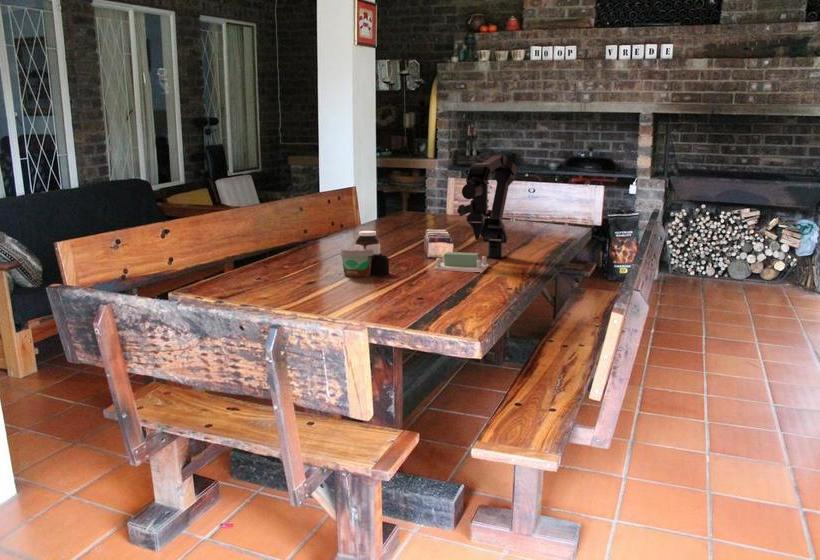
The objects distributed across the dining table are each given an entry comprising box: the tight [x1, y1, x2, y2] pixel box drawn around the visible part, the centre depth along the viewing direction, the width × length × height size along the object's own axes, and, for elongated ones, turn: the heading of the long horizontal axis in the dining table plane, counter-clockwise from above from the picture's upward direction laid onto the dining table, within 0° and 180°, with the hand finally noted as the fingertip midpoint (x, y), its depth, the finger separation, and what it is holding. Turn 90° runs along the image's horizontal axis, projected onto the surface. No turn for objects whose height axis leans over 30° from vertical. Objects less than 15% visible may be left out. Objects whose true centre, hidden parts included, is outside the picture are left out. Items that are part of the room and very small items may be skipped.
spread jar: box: [349, 230, 381, 254], centre depth 296 cm, size 12×11×12 cm
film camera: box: [370, 252, 390, 276], centre depth 267 cm, size 15×10×9 cm, turn 83°
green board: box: [443, 251, 480, 267], centre depth 275 cm, size 5×12×4 cm, turn 73°
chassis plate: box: [433, 254, 489, 274], centre depth 276 cm, size 12×18×4 cm, turn 72°
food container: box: [339, 248, 374, 279], centre depth 260 cm, size 12×6×10 cm, turn 83°
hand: (479, 238), depth 281 cm, fingers open, 9 cm apart
